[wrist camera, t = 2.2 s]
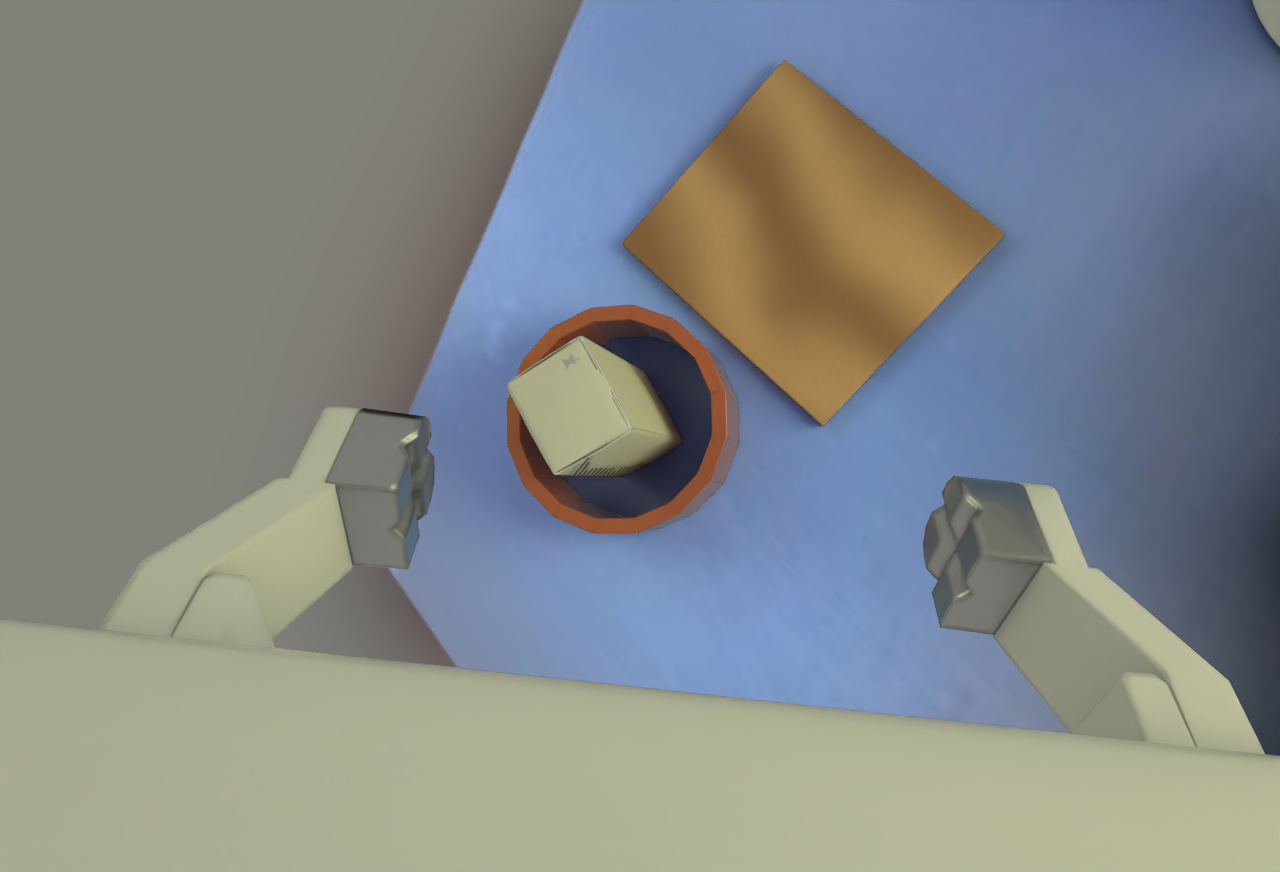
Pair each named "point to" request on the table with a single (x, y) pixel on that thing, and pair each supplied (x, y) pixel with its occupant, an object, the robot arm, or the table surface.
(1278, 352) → the table surface
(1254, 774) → the robot arm
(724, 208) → the brown flat wooden board
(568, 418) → the box
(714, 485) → the orange hollow cylinder
